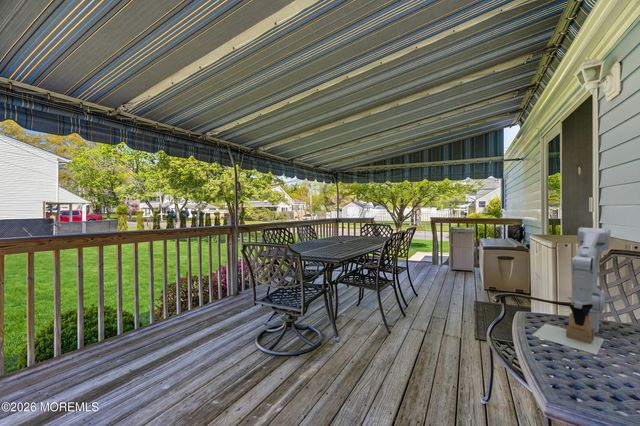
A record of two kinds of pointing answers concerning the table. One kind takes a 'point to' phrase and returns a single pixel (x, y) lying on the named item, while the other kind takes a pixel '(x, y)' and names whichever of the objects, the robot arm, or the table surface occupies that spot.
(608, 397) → the table surface
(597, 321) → the robot arm
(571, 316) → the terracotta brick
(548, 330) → the baseplate
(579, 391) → the table surface
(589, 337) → the walnut block
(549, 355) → the table surface
